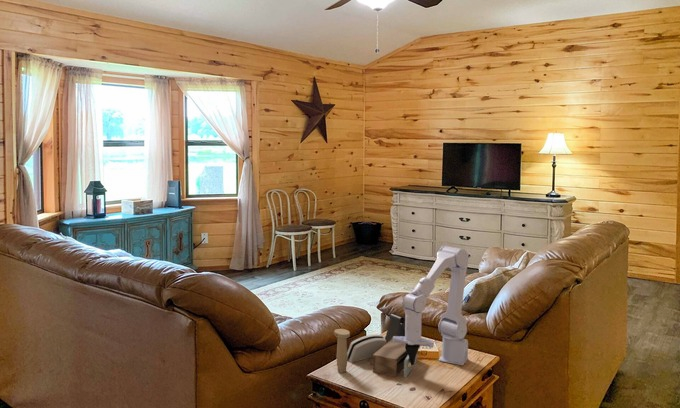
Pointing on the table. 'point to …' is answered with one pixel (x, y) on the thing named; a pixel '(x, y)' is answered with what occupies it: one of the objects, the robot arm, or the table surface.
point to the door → (408, 365)
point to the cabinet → (390, 359)
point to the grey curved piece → (365, 347)
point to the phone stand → (395, 327)
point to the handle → (342, 349)
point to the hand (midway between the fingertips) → (412, 363)
